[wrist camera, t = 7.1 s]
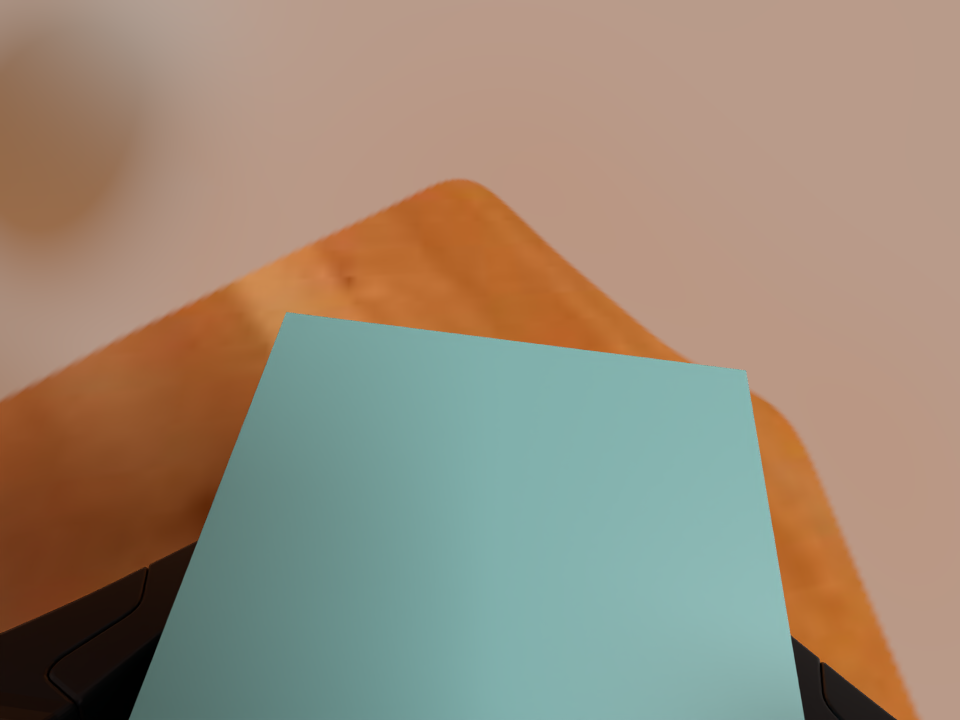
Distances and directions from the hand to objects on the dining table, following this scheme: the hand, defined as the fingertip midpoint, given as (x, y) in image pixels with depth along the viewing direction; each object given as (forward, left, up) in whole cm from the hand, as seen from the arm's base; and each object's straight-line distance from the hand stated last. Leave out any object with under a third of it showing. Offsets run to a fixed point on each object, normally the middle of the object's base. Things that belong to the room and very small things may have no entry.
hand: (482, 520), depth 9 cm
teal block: (-1, +1, -5) cm, 6 cm away
